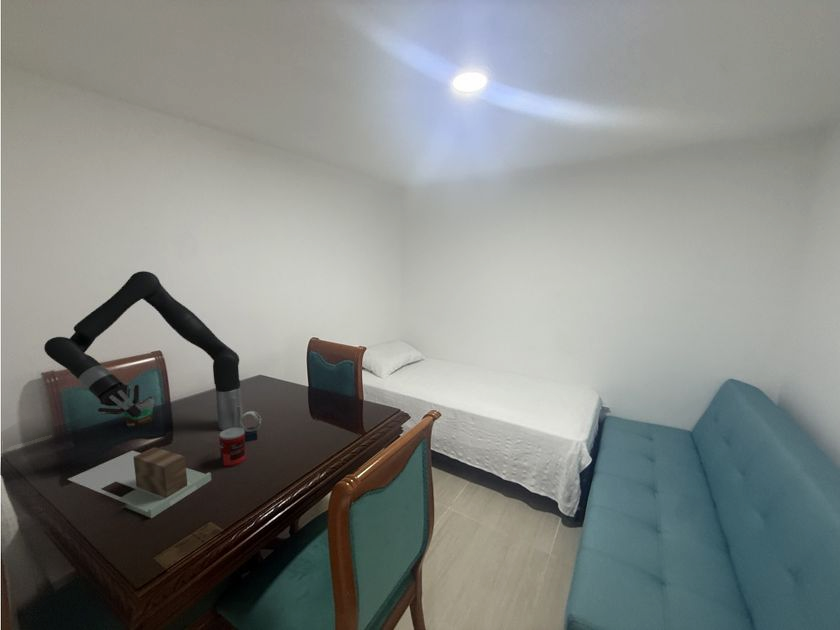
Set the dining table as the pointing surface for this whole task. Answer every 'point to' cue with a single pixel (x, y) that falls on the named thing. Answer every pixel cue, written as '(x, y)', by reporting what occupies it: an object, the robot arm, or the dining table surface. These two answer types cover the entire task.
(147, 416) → the food container
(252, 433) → the watch
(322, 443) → the dining table surface
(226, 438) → the canned food
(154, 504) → the trap lane
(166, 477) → the walnut block
